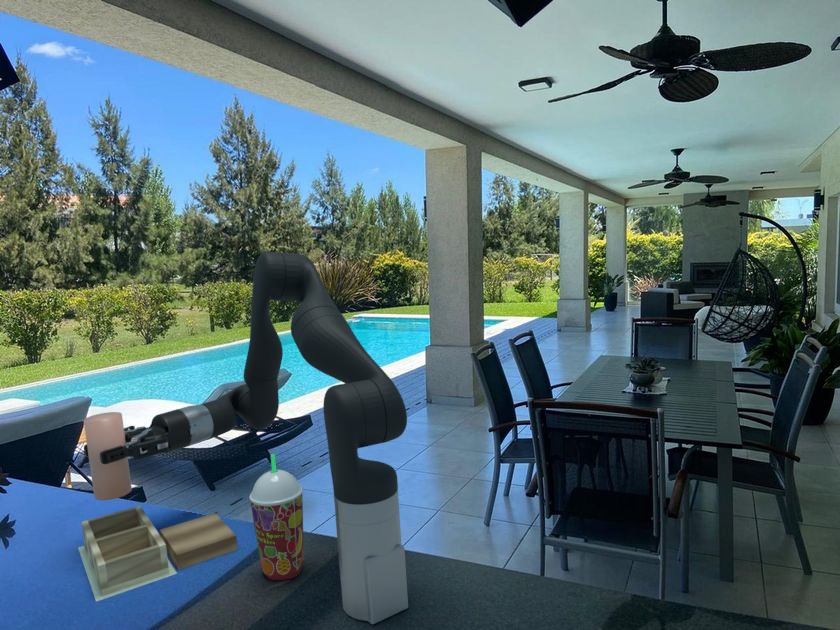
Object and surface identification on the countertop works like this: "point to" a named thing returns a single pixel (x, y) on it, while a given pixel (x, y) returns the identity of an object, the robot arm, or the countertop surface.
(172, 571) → the mat
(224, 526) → the board
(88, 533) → the caddy
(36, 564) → the countertop surface
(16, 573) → the countertop surface
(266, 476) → the smoothie
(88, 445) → the pink cylinder
